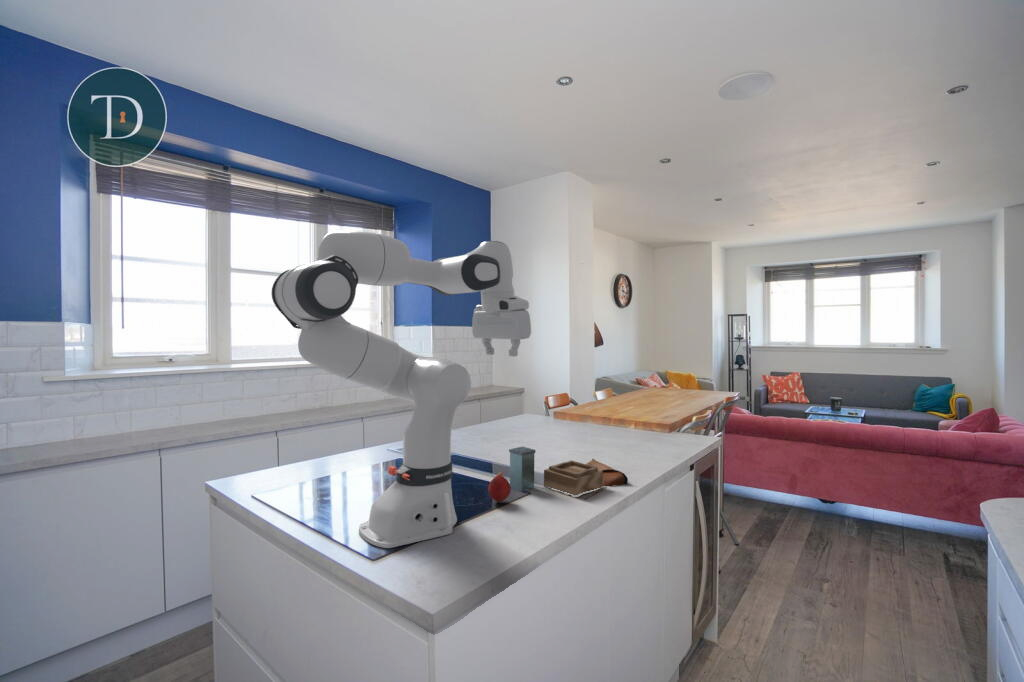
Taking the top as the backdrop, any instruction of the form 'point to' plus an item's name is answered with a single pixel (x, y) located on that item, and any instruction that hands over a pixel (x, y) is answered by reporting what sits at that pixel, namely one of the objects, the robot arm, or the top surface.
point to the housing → (522, 468)
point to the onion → (499, 488)
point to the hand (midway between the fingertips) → (501, 355)
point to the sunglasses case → (609, 474)
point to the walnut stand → (573, 477)
